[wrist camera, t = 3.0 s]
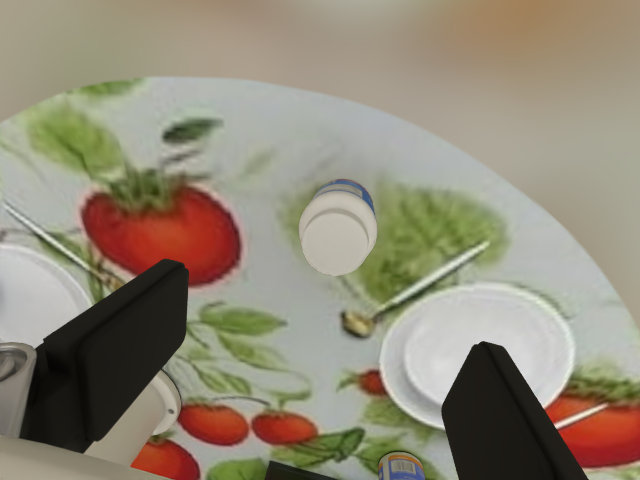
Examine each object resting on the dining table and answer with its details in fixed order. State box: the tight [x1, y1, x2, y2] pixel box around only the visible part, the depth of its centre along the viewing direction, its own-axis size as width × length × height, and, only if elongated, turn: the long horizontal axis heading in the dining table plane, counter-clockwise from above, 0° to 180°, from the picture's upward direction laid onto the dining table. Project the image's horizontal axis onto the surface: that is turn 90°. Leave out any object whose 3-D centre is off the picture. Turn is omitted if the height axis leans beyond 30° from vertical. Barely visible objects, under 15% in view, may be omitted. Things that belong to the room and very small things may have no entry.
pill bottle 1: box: [299, 179, 377, 276], centre depth 22 cm, size 6×5×10 cm
